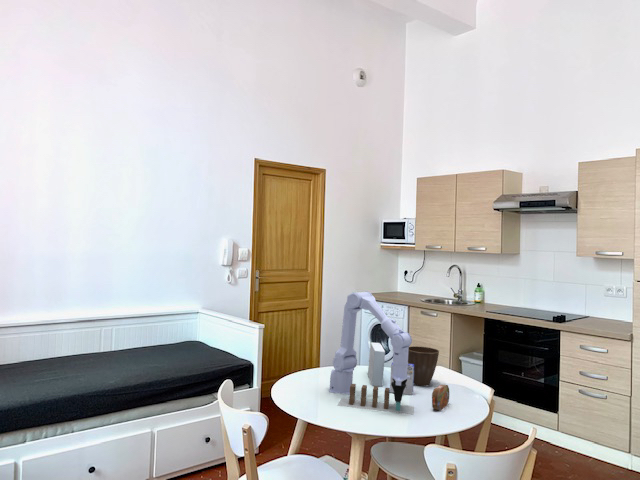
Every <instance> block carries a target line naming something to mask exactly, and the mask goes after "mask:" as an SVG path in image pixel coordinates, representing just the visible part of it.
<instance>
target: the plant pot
mask: <svg viewBox="0 0 640 480" xmlns="http://www.w3.org/2000/svg"><path fill="white" fill-rule="evenodd" d="M439 354H440V350H438V349H437V348H433V347H428V346H416V345H415V346H414V345H413V346H409V349H408V364H414V384H413V385H416V386H418V387H428V386H430V385H431V382H432V380H433V378H434V374H435V371H436V368H437V364H438V361H439V360H438V359H439Z"/></svg>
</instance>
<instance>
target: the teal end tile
mask: <svg viewBox="0 0 640 480" xmlns="http://www.w3.org/2000/svg"><path fill="white" fill-rule="evenodd" d="M401 402H402V401H401ZM401 402H395V404H396V410H397V411H400V408H401V405H402V403H401Z"/></svg>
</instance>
